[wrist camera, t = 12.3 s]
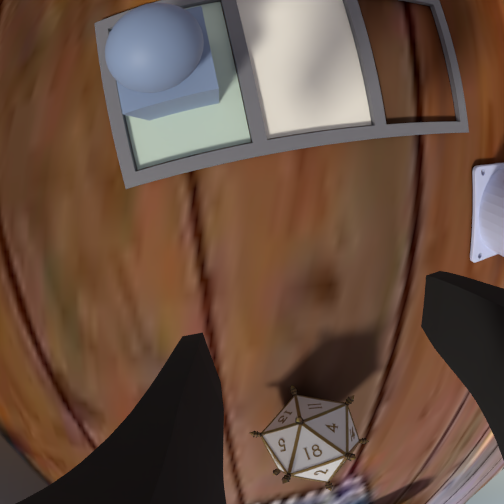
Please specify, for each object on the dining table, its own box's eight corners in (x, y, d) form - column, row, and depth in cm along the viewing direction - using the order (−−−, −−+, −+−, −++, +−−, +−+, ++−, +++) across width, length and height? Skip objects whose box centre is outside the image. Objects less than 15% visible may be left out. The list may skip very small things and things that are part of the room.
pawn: (206, 40, 14) (197, -30, 6) (219, 103, 16) (218, 71, 8) (137, 58, 14) (80, 7, 6) (149, 120, 15) (93, 107, 8)
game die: (299, 362, 27) (383, 375, 18) (326, 428, 27) (403, 454, 19) (217, 412, 23) (283, 459, 14) (256, 478, 23) (323, 529, 14)
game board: (434, -1, 13) (438, -3, 13) (464, 131, 17) (468, 132, 17) (97, 25, 13) (94, 23, 12) (128, 187, 17) (126, 189, 16)
